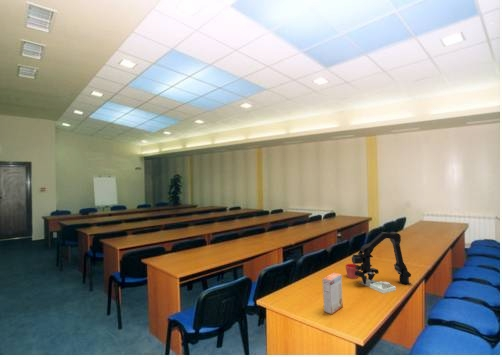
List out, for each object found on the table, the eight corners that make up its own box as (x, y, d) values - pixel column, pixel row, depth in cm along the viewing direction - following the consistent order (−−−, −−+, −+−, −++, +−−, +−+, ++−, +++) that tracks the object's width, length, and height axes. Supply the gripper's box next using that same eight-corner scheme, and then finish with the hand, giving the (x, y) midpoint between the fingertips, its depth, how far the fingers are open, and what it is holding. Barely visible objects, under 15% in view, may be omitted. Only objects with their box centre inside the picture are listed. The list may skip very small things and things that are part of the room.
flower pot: (351, 280, 216) (350, 268, 216) (343, 276, 226) (342, 264, 226) (362, 278, 218) (361, 266, 219) (353, 274, 229) (353, 263, 229)
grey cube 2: (368, 283, 206) (368, 278, 206) (371, 285, 202) (370, 280, 202) (363, 284, 206) (363, 278, 206) (366, 286, 202) (366, 280, 202)
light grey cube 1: (385, 287, 198) (385, 281, 198) (390, 289, 194) (390, 283, 195) (382, 288, 196) (381, 282, 196) (386, 290, 193) (386, 284, 193)
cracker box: (334, 304, 175) (333, 272, 175) (343, 307, 170) (342, 274, 171) (323, 311, 165) (321, 277, 166) (332, 315, 161) (330, 280, 161)
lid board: (370, 279, 217) (370, 278, 217) (381, 283, 206) (381, 282, 206) (356, 282, 211) (356, 280, 211) (367, 287, 201) (367, 285, 201)
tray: (381, 285, 204) (381, 281, 204) (395, 290, 193) (395, 286, 193) (369, 288, 199) (369, 283, 199) (383, 294, 188) (383, 289, 188)
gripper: (367, 258, 215) (368, 278, 215) (349, 262, 208) (350, 282, 208) (378, 262, 205) (379, 282, 205) (360, 266, 198) (360, 287, 198)
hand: (367, 283), depth 204 cm, fingers closed on grey cube 2, 5 cm apart
